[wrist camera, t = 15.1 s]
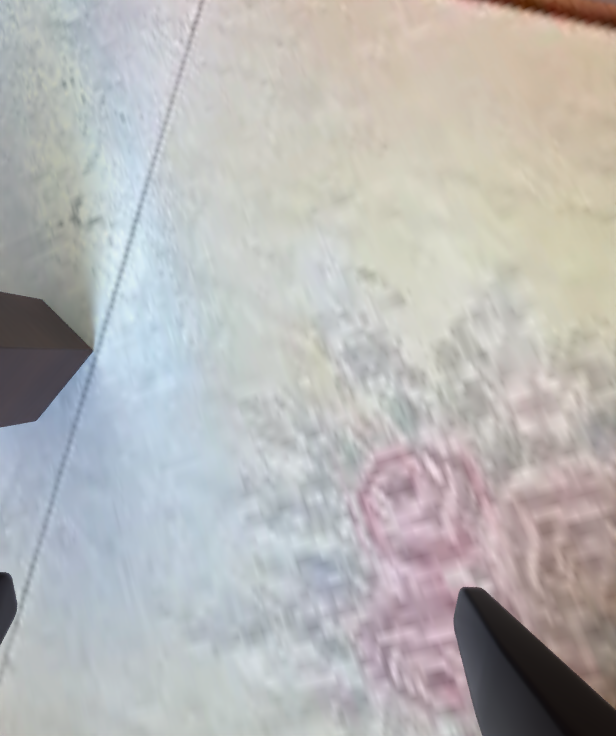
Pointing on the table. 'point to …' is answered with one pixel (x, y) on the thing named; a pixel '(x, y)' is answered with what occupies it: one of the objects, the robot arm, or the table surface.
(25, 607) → the table surface
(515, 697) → the robot arm
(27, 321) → the walnut block
